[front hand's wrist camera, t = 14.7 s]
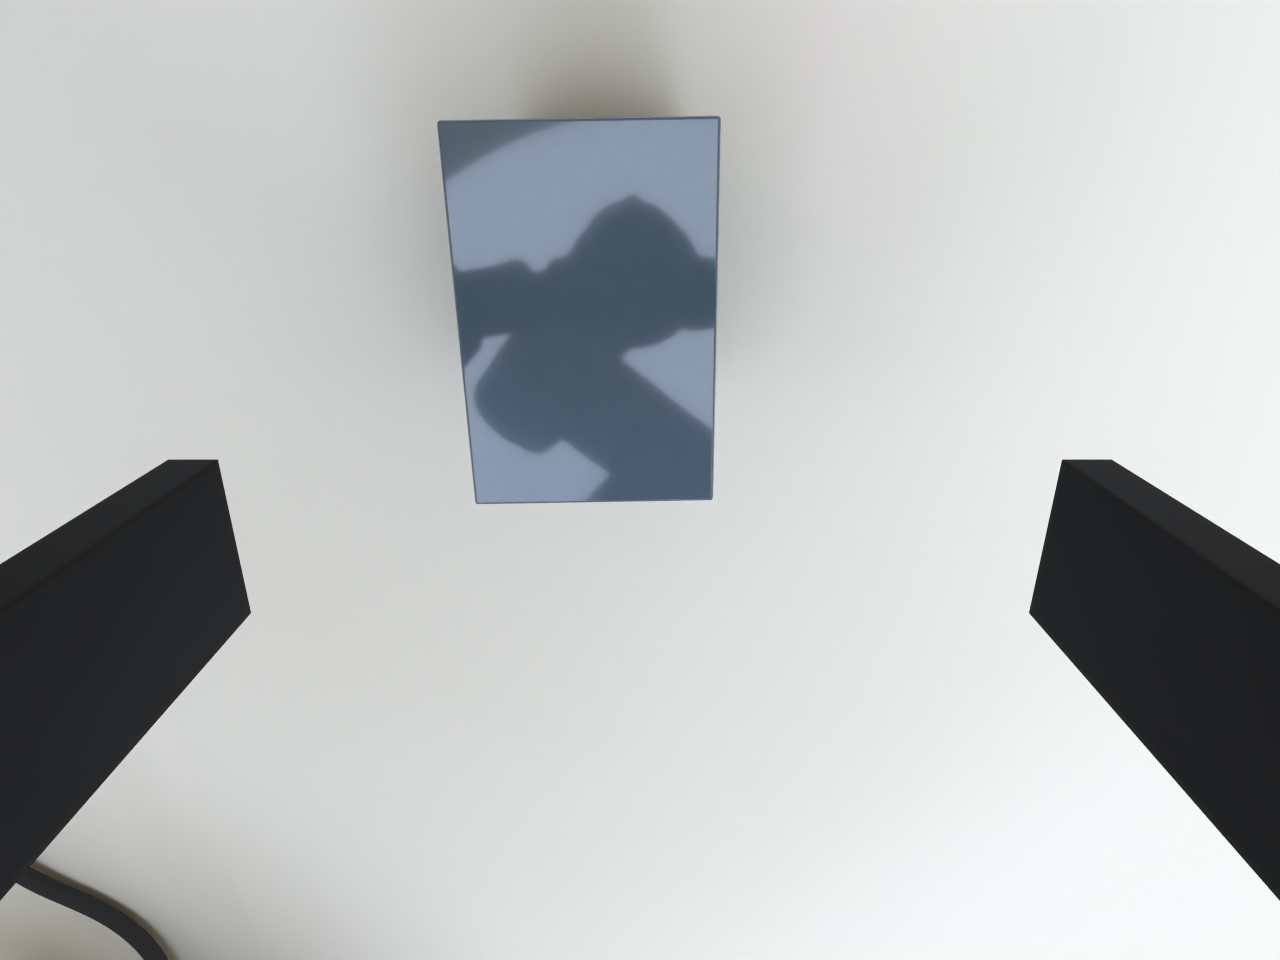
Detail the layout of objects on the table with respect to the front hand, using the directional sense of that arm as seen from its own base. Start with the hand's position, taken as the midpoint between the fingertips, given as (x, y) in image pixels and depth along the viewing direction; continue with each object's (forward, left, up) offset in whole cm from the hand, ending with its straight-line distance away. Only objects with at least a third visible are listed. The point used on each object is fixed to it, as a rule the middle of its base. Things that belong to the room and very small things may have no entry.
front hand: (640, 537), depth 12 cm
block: (-2, +1, -19) cm, 19 cm away
